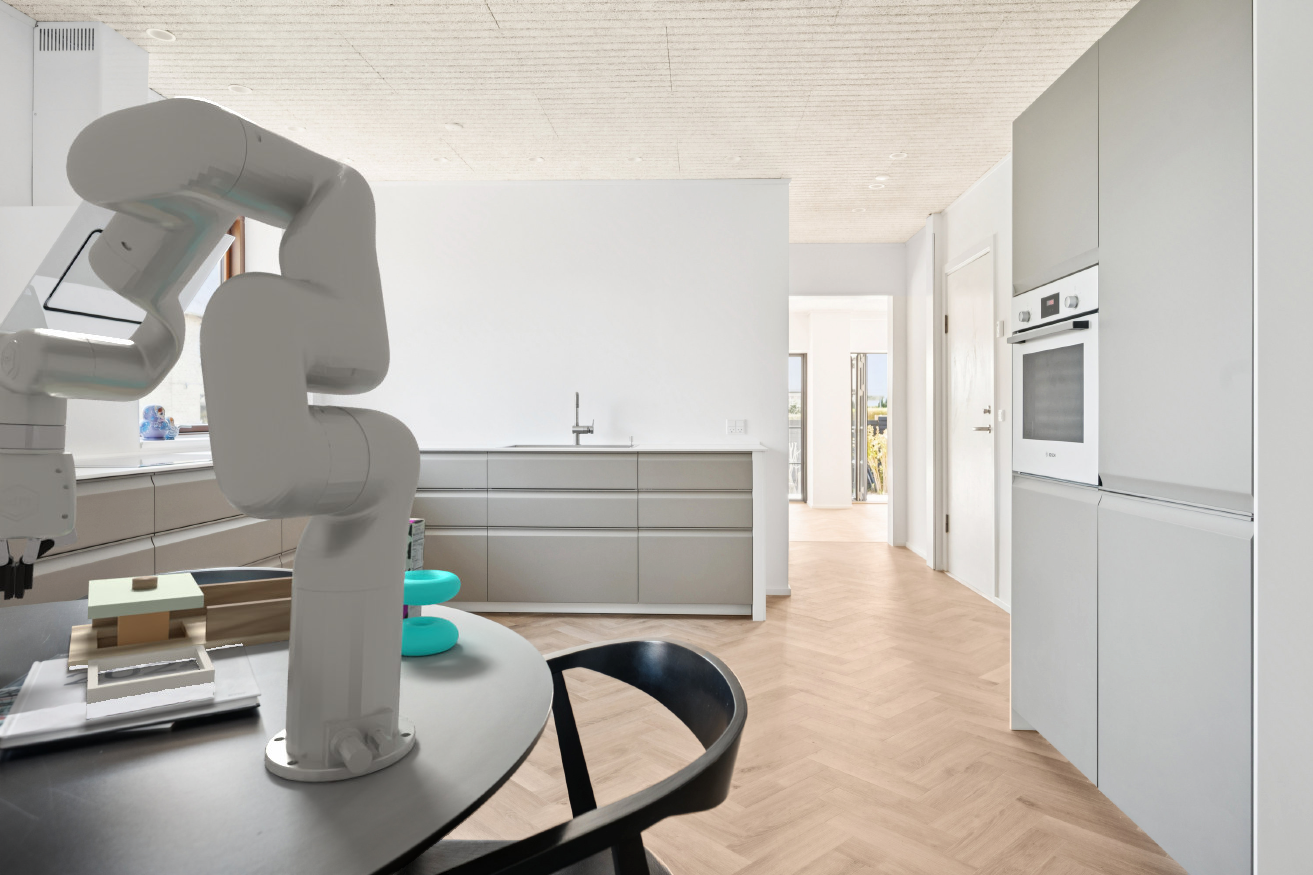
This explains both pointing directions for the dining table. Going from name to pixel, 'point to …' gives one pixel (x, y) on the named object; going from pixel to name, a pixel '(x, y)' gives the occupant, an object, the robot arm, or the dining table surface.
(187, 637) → the brown wooden open box
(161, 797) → the dining table surface
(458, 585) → the donuts
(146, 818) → the dining table surface
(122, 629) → the block
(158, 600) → the cover
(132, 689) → the dish
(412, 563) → the candy bar box
